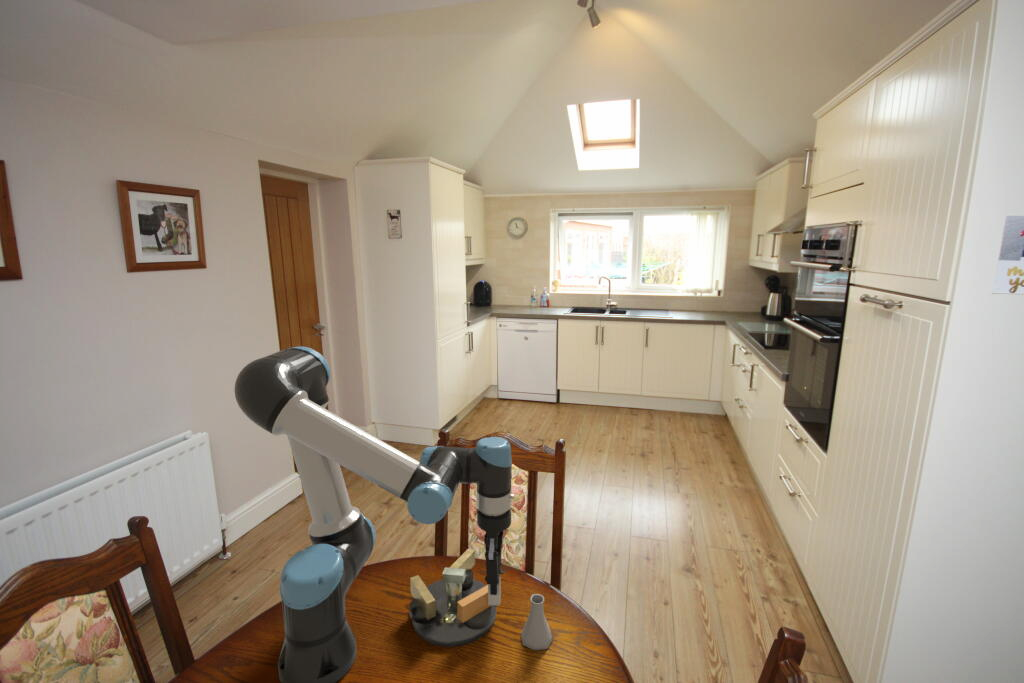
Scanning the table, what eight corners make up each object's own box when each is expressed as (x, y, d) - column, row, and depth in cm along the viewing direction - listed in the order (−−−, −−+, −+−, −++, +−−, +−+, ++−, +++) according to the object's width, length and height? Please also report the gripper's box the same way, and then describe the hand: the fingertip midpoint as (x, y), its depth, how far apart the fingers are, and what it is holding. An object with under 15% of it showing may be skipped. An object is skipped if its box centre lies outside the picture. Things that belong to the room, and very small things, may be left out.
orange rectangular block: (468, 638, 103) (467, 612, 102) (452, 621, 107) (452, 597, 106) (503, 615, 109) (503, 591, 108) (487, 601, 114) (487, 577, 112)
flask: (550, 654, 102) (551, 613, 100) (517, 648, 103) (518, 608, 101) (554, 628, 109) (555, 589, 107) (523, 623, 110) (523, 585, 108)
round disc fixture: (397, 641, 105) (395, 597, 102) (427, 574, 127) (426, 536, 125) (488, 651, 102) (488, 606, 100) (503, 581, 124) (503, 543, 122)
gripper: (508, 525, 97) (508, 625, 101) (513, 493, 110) (512, 584, 114) (472, 523, 98) (473, 623, 102) (481, 492, 111) (482, 582, 115)
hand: (494, 602), depth 108 cm, fingers closed
